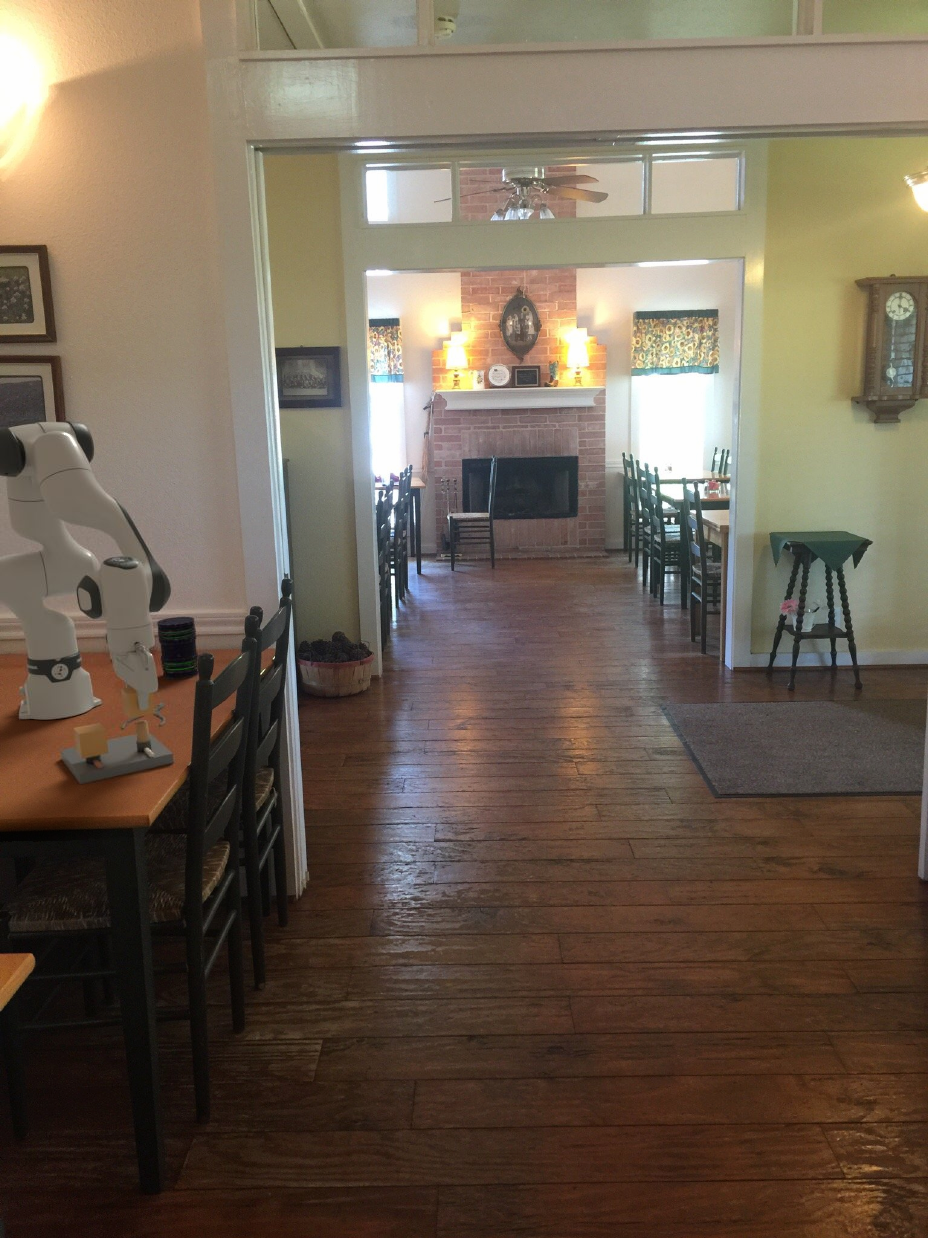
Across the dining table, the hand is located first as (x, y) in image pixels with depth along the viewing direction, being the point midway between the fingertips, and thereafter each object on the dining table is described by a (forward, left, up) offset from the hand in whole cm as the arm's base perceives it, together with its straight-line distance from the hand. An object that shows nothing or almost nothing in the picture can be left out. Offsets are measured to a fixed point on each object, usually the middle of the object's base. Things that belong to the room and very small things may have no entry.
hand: (139, 705), depth 198 cm
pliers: (-31, +8, -12) cm, 34 cm away
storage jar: (-64, +27, -12) cm, 71 cm away
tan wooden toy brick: (0, 0, -2) cm, 2 cm away
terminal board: (-3, -5, -12) cm, 13 cm away
